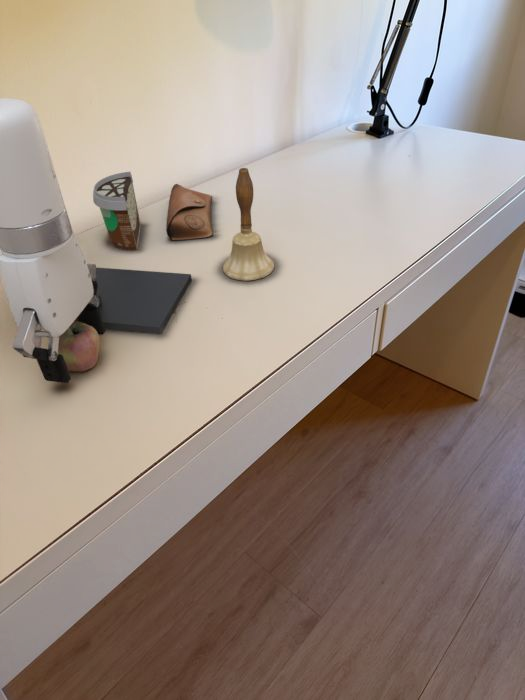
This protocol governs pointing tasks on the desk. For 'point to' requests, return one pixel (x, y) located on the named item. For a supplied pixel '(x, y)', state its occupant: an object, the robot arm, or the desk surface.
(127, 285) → the scale
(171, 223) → the sunglasses case
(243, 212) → the hand bell
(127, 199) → the food container
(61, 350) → the apple
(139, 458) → the desk surface
